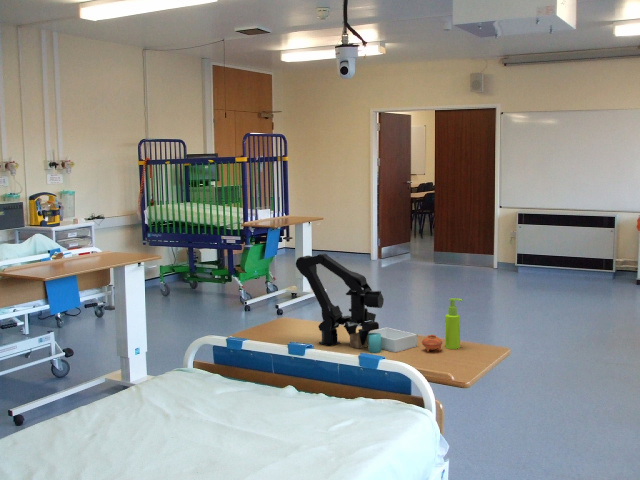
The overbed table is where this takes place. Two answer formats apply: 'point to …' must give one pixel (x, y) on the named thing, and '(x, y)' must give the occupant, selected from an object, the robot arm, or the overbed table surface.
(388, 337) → the tote
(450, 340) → the soap dispenser
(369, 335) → the teal cylinder
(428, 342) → the pot
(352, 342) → the walnut cube
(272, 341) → the overbed table surface
